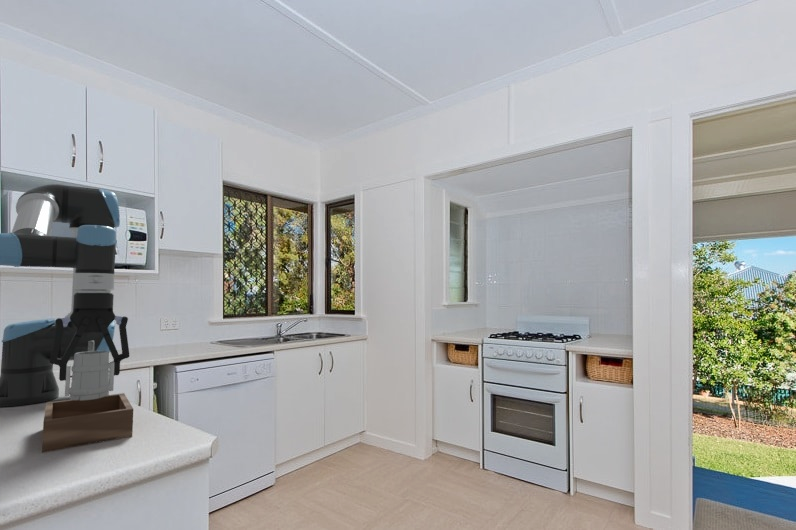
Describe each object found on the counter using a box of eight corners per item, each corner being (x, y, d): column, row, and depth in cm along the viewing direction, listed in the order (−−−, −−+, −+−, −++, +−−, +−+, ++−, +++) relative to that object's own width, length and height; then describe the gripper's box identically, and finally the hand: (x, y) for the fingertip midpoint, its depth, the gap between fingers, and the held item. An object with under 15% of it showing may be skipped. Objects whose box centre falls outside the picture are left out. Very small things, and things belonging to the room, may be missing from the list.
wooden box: (44, 428, 99) (46, 402, 100) (123, 417, 109) (124, 393, 109) (41, 452, 85) (43, 421, 85) (132, 436, 94) (133, 408, 95)
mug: (68, 402, 90) (71, 345, 91) (68, 392, 100) (70, 340, 100) (111, 397, 95) (113, 343, 96) (107, 388, 104) (109, 338, 105)
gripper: (36, 292, 90) (29, 402, 88) (147, 292, 102) (143, 389, 101) (37, 292, 96) (32, 395, 94) (142, 292, 108) (138, 383, 107)
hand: (89, 392), depth 97 cm, fingers closed on mug, 7 cm apart
